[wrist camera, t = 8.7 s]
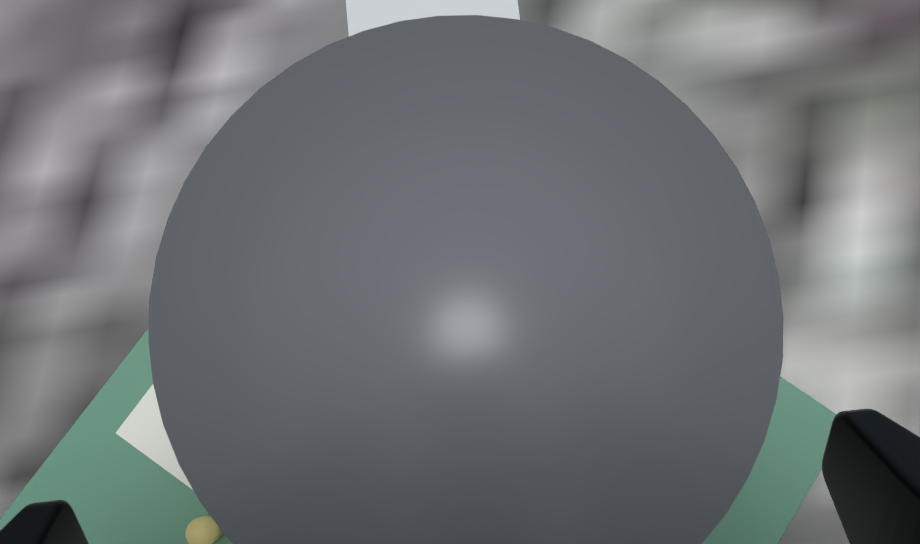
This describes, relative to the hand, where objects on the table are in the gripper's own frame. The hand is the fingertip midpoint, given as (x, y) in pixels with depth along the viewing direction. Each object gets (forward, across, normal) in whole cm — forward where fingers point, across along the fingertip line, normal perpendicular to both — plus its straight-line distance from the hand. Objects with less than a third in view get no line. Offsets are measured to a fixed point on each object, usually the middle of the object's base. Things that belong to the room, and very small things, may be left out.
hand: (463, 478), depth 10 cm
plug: (+7, 0, +5) cm, 9 cm away
